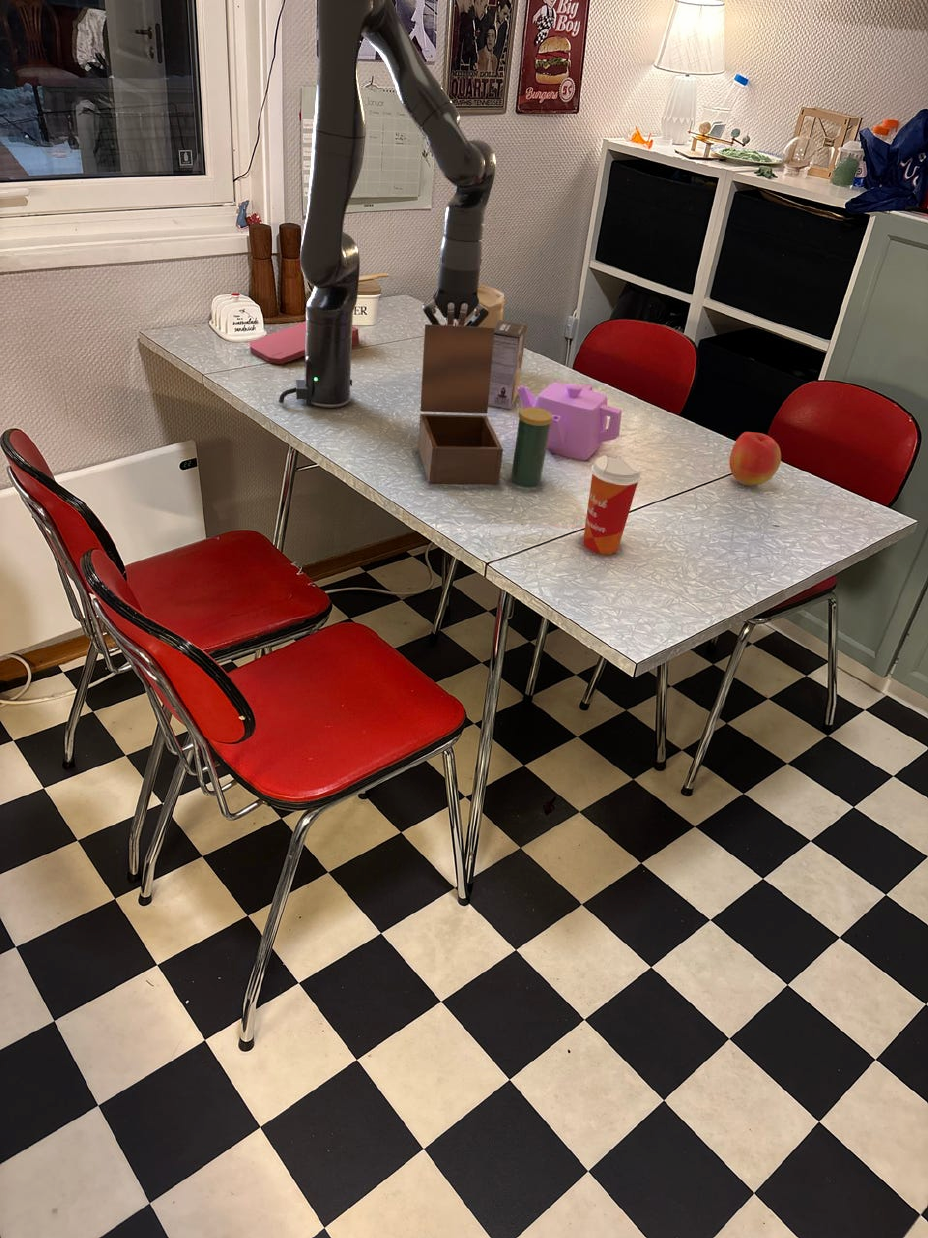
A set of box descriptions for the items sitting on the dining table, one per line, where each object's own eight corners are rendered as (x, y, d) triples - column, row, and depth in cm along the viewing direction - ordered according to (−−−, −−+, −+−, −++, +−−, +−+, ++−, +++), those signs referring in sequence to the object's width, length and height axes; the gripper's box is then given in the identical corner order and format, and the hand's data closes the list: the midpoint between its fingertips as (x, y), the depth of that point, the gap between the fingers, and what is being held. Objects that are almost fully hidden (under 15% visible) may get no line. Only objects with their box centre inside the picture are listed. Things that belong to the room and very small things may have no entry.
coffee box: (489, 389, 213) (499, 318, 204) (517, 395, 212) (528, 323, 203) (482, 404, 205) (491, 331, 196) (511, 410, 205) (521, 336, 195)
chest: (497, 488, 173) (503, 449, 169) (428, 488, 171) (432, 447, 166) (481, 453, 185) (486, 415, 181) (417, 452, 182) (420, 413, 178)
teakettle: (619, 459, 190) (632, 400, 183) (543, 464, 184) (553, 404, 177) (581, 423, 202) (592, 367, 195) (509, 428, 197) (517, 370, 190)
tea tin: (513, 491, 173) (523, 420, 165) (506, 476, 178) (516, 406, 170) (544, 492, 174) (556, 420, 166) (536, 477, 179) (547, 407, 171)
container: (504, 371, 223) (515, 294, 213) (476, 385, 214) (486, 305, 204) (460, 356, 228) (468, 280, 218) (431, 369, 219) (438, 290, 209)
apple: (744, 496, 182) (759, 448, 176) (712, 474, 189) (726, 427, 183) (781, 490, 186) (797, 443, 180) (749, 468, 193) (763, 422, 187)
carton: (278, 380, 213) (364, 346, 226) (275, 360, 210) (362, 326, 223) (247, 363, 220) (333, 331, 233) (244, 343, 216) (331, 311, 229)
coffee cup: (572, 531, 163) (588, 452, 155) (618, 534, 164) (636, 455, 156) (581, 557, 156) (598, 475, 148) (629, 559, 157) (649, 478, 149)
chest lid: (494, 328, 173) (493, 327, 174) (425, 324, 171) (424, 324, 171) (487, 413, 180) (486, 412, 181) (420, 411, 177) (420, 410, 178)
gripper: (491, 258, 176) (480, 350, 186) (420, 254, 173) (413, 347, 183) (499, 270, 170) (488, 364, 180) (427, 266, 167) (419, 361, 177)
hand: (450, 355), depth 182 cm, fingers closed
